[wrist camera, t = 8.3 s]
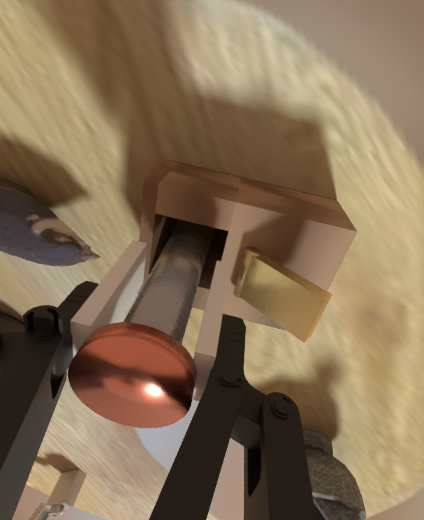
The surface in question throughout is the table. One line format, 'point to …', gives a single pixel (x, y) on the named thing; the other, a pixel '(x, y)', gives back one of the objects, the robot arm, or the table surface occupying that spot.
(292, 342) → the table surface
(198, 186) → the block
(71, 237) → the bird model
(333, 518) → the mortar and pestle
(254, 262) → the golden rectangular bar
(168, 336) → the red-capped peg
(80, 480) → the lighter
